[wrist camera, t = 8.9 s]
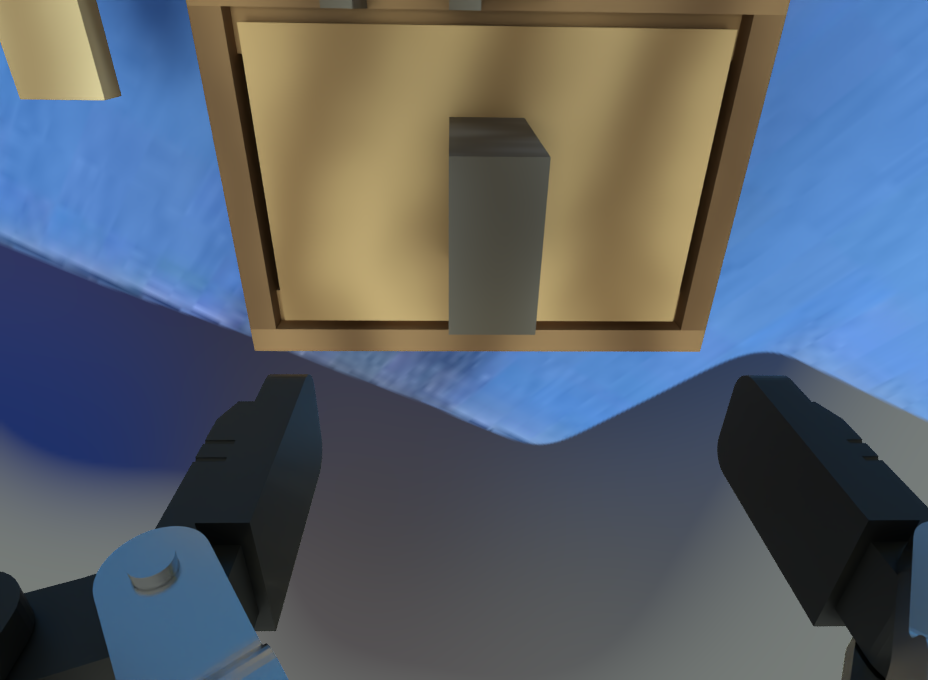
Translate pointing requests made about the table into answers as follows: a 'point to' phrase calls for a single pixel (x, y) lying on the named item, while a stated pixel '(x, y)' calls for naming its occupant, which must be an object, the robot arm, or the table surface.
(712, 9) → the wooden box
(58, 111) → the table surface
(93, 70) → the yellow latch bar
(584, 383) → the table surface
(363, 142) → the lid
